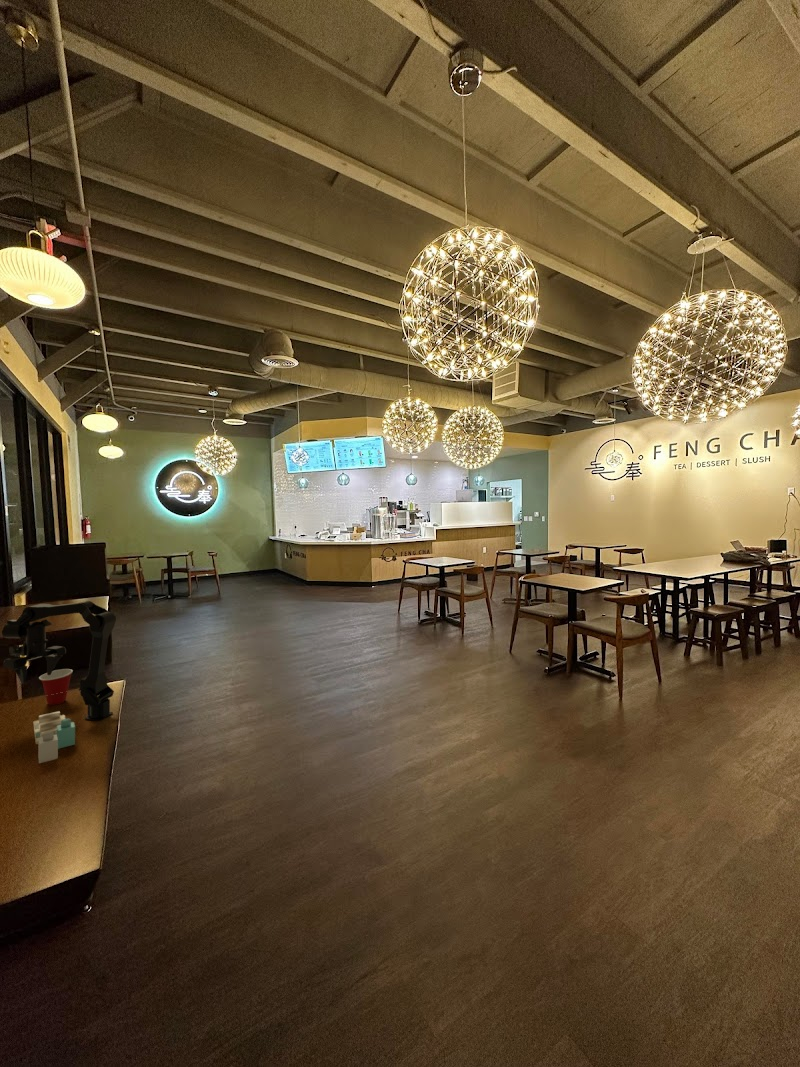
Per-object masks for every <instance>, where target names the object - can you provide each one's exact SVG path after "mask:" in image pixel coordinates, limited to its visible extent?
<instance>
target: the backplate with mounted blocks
mask: <svg viewBox="0 0 800 1067" xmlns="http://www.w3.org/2000/svg"><path fill="white" fill-rule="evenodd" d="M64 719H67V718H66V715H65V714H62V715H61V712H60V710H58V711H54V712H50V713H49V712H48V713H45V714H40V715H38V719H37V720H34V721H32V724H33V732H34V740H35V741H34V742H35V745H38V739H39V738H43V733H44V732H47V731H53V735H55V734H57V726H58V725H61V721H62V720H64Z"/></svg>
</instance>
